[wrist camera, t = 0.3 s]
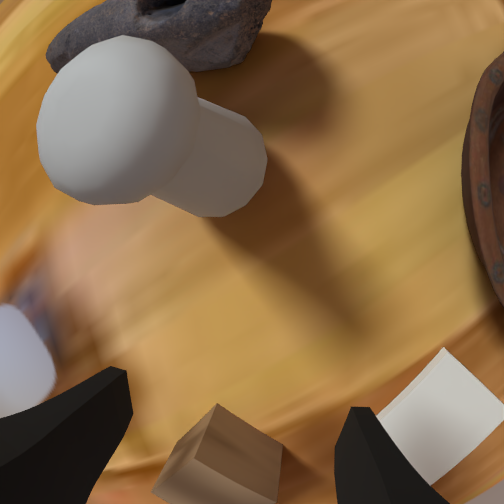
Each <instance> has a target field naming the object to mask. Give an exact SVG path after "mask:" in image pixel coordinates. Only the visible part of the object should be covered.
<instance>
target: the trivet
mask: <svg viewBox="0 0 504 504" xmlns="http://www.w3.org/2000/svg"><path fill="white" fill-rule="evenodd" d="M376 417H377V419H378V420H379V421H380V423H381V424H382V426H383V427H384V429H385V430H386V432H387V433H388V434H389V436H390V437H391V439H392V440H393V441H394V443H395V444H396V446H397V447H398V448H399V450H400V451H401V452H402V454H403V455H404V456H405V457H406V459H407V460H408V461H409V462H410V464H411V465H412V466H413V467H414V469H415V470H416V471H417V472H418V473H419V474H420V475H421V477H422V478H423V479H424V480H425V481H426V482H427V483H428V484H429V485H430V486H431V485H432V484H433V483H434V482H436V481H437V480H438V479H440V478H441V477H442V476H443V475H445V474H446V473H447V472H448V471H450V470H451V469H452V468H453V467H454V466H456V465H457V464H458V463H459V462H460V461H461V460H463V459H464V458H465V457H466V456H467V455H468V454H469V453H470V452H472V451H473V450H474V449H475V448H476V447H477V446H478V445H479V444H480V443H481V442H482V441H483V440H484V439H485V438H486V437H487V436H488V435H489V434H490V433H491V432H492V431H493V430H494V429H495V428H496V427H497V426H498V425H499V424H500V423H501V422H502V421H503V420H504V404H503V403H502V402H501V401H500V400H499V399H498V398H497V397H496V396H495V395H494V394H493V393H492V392H491V391H490V390H489V389H488V388H487V387H486V386H485V385H484V384H483V383H482V382H481V381H480V380H479V379H477V378H476V377H475V376H474V375H473V374H472V373H471V372H470V371H469V370H468V369H467V368H466V367H465V366H464V365H463V364H462V363H460V362H459V361H458V360H457V359H456V358H455V357H454V356H453V355H452V354H451V353H450V352H449V351H447V350H446V349H445V348H444V347H443V348H442V349H441V350H440V352H439V353H438V354H437V355H436V356H435V357H434V358H433V360H432V361H431V362H430V363H429V364H428V365H427V366H426V367H425V368H424V369H423V370H422V372H421V373H420V374H419V375H418V376H417V377H416V378H415V379H414V380H413V381H412V382H411V383H410V384H409V385H408V386H407V387H406V388H405V389H404V390H403V391H402V392H401V393H400V394H399V395H398V396H397V397H396V398H395V399H394V400H393V401H392V402H391V403H390V404H389V405H387V406H386V407H385V408H384V409H383V410H382V411H381V412H380V413H379V414H378V415H377V416H376Z"/></svg>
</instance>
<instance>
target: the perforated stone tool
mask: <svg viewBox="0 0 504 504" xmlns="http://www.w3.org/2000/svg"><path fill="white" fill-rule="evenodd" d="M271 2H272V0H106V1H105V2H103V3H102V4H100V5H97V6H95V7H93V8H92V9H90V10H88V11H87V12H85V13H84V14H82V15H81V16H79V17H78V18H76V19H75V20H73V21H72V22H71V23H69V24H68V25H67V26H66V27H65V28H64V29H62V30H61V31H60V32H59V33H58V34H57V36H56V37H55V38H54V40H53V41H52V42H51V44H49V47H48V49H47V52H46V59H47V61H48V62H49V63H50V64H51V68H52V69H53V70H54V72H56V73H59V71H60V70H61V69H62V68H63V67H64V66H65V65H66V64H68V63H69V62H70V61H71V60H72V59H74V58H75V57H76V56H77V55H79V54H80V53H81V52H82V51H84V50H85V49H87V48H88V47H89V46H91V45H93V44H96V43H99V42H102V41H105V40H108V39H111V38H114V37H118V36H121V35H125V36H130V37H136V38H141V39H145V40H150V41H153V42H155V43H157V44H158V45H160V46H162V47H164V48H165V49H166V50H168V51H169V52H170V53H171V54H172V55H173V56H174V57H175V58H176V59H177V60H178V61H179V62H180V63H181V64H182V65H183V66H184V67H185V68H186V69H187V70H188V72H190V71H194V72H201V71H206V70H214V69H221V68H228V67H230V66H232V65H235V64H239V63H242V62H243V61H244V59H245V57H246V54H247V53H248V52H249V51H250V49H251V47H252V44H253V42H254V41H255V39H256V37H257V34H258V32H259V31H260V29H261V27H262V24H263V19H264V18H265V16H266V15H267V13H268V12H269V11H270V8H271Z"/></svg>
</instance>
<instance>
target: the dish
mask: <svg viewBox="0 0 504 504" xmlns="http://www.w3.org/2000/svg"><path fill="white" fill-rule="evenodd" d="M461 177H462V196H463V203H464V209H465V213H466V218H467V223H468V228H469V231H470V234H471V237H472V240H473V244H474V246H475V249H476V251H477V253H478V256H479V258H480V260H481V262H482V264H483V266H484V267H485V269H486V271H487V274H488V276H489V279H490V281H491V284H492V287H493V290H494V291H495V293H496V295H497V297H498V299H499V301H500V303H501V305H502V306H503V308H504V52H503V53H502V54H501V55H500V56H499V57H497V58H496V59H495V60H494V61H493V62H492V63H491V64H490V65H489V66H488V67H487V68H486V70H485V71H484V73H483V75H482V77H481V79H480V81H479V83H478V85H477V89H476V92H475V95H474V99H473V103H472V108H471V114H470V120H469V123H468V125H467V129H466V134H465V138H464V144H463V152H462V169H461Z"/></svg>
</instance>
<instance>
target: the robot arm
mask: <svg viewBox="0 0 504 504" xmlns="http://www.w3.org/2000/svg"><path fill="white" fill-rule="evenodd" d="M132 416H133V409H132V403H131V397H130V391H129V385H128V379H127V372H126V370H122V369H119V368H115V367H112V366H110V367H108V368H106V369H104V370H102V371H101V372H99V373H97V374H95V375H94V376H92V377H90V378H88V379H87V380H85V381H83V382H82V383H80V384H78V385H76V386H74V387H73V388H71V389H69V390H67V391H65V392H64V393H62V394H60V395H58V396H56V397H54V398H52V399H49V400H47V401H45V402H43V403H41V404H39V405H37V406H35V407H32V408H30V409H28V410H25V411H22V412H20V413H16V414H14V415H11V416H7V417H4V418H0V504H86V502H87V500H88V497H89V495H90V493H91V491H92V489H93V487H94V485H95V483H96V481H97V480H98V478H99V476H100V475H101V473H102V471H103V470H104V468H105V467H106V465H107V463H108V462H109V460H110V458H111V457H112V455H113V454H114V452H115V450H116V449H117V447H118V445H119V444H120V442H121V440H122V438H123V437H124V434H125V432H126V430H127V428H128V425H129V423H130V420H131V418H132ZM334 474H335V484H336V493H337V502H338V504H450V503H449V502H447V501H446V500H445V499H444V498H443V497H442V496H441V495H440V494H438V493H437V492H436V491H435V490H434V489H433V488H432V487H431V486H430V485H429V484H428V483H427V482H426V481H425V480H424V479H423V478H422V477H421V475H420V474H419V473H418V472H417V471H416V470H415V469H414V467H413V466H412V465H411V464H410V462H409V461H408V460H407V459H406V457H405V456H404V455H403V454H402V452H401V451H400V450H399V448H398V447H397V446H396V444H395V443H394V441H393V440H392V439H391V437H390V436H389V434H388V433H387V432H386V430H385V429H384V427H383V426H382V424H381V423H380V421H379V420H378V419H377V417H376V416H375V414H374V413H373V411H372V410H371V409H370V407H351V409H350V411H349V414H348V416H347V419H346V422H345V424H344V426H343V429H342V431H341V434H340V436H339V438H338V441H337V443H336V445H335V462H334Z"/></svg>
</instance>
